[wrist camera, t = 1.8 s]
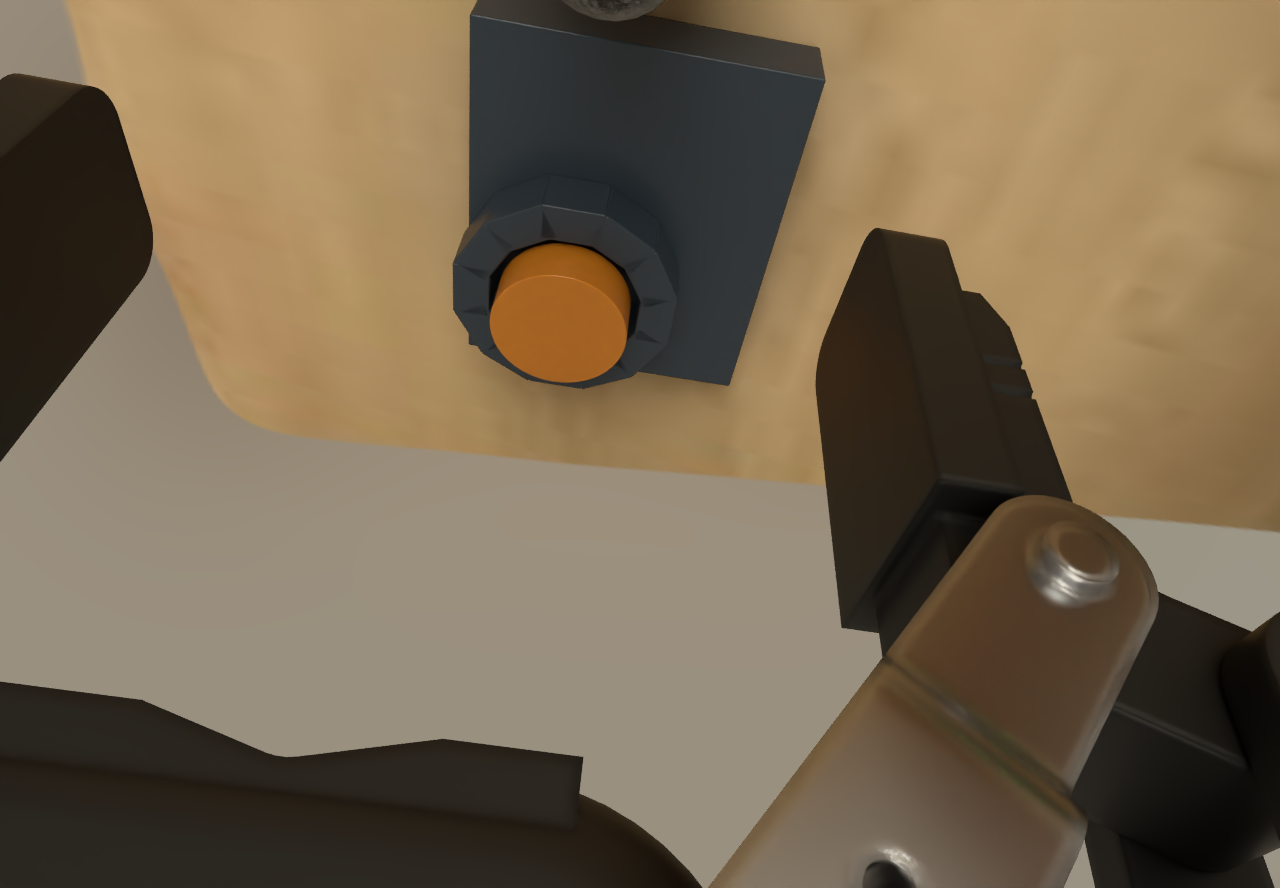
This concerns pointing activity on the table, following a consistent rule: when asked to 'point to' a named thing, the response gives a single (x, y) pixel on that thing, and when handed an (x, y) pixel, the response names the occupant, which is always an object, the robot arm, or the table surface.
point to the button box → (633, 170)
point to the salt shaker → (613, 8)
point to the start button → (561, 313)
